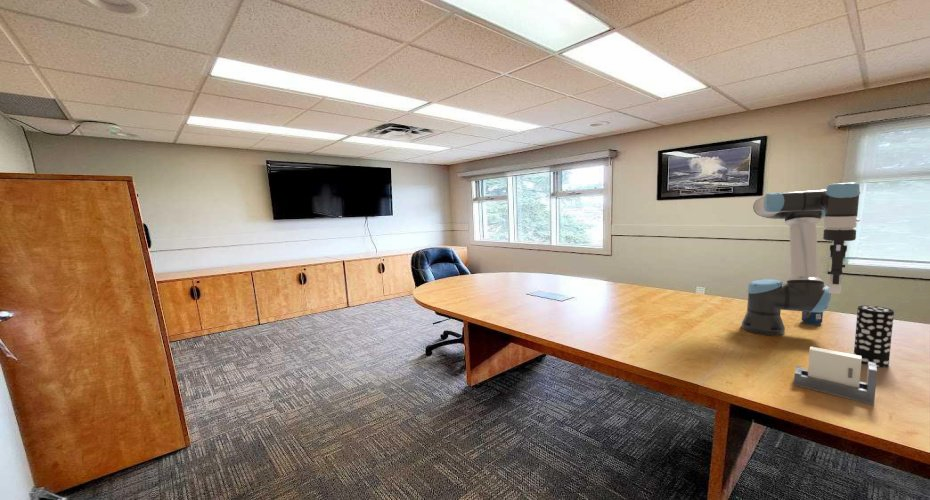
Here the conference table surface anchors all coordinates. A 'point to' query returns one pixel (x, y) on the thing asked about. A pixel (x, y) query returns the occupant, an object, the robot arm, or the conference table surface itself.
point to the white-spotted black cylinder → (874, 334)
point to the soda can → (812, 318)
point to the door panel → (835, 366)
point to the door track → (840, 385)
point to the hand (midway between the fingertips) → (835, 289)
